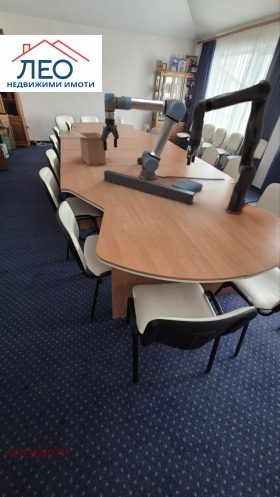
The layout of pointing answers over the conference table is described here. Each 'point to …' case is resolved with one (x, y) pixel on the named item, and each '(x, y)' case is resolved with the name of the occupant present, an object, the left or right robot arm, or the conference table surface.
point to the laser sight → (140, 159)
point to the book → (188, 185)
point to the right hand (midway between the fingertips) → (190, 163)
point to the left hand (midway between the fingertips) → (110, 148)
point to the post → (149, 187)
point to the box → (92, 147)
